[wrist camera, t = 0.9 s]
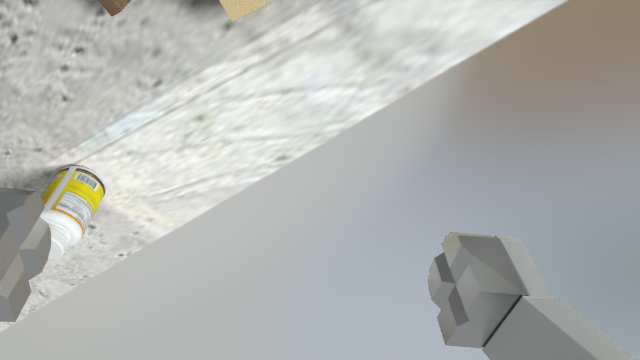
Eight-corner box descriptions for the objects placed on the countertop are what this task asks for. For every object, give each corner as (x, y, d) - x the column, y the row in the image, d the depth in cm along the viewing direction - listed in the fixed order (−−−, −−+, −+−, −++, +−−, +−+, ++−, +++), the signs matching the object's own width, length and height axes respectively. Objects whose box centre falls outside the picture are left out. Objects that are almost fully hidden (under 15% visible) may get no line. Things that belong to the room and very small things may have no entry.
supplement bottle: (64, 194, 56) (22, 261, 49) (54, 160, 53) (5, 226, 45) (111, 200, 57) (76, 267, 49) (103, 166, 53) (64, 233, 45)
